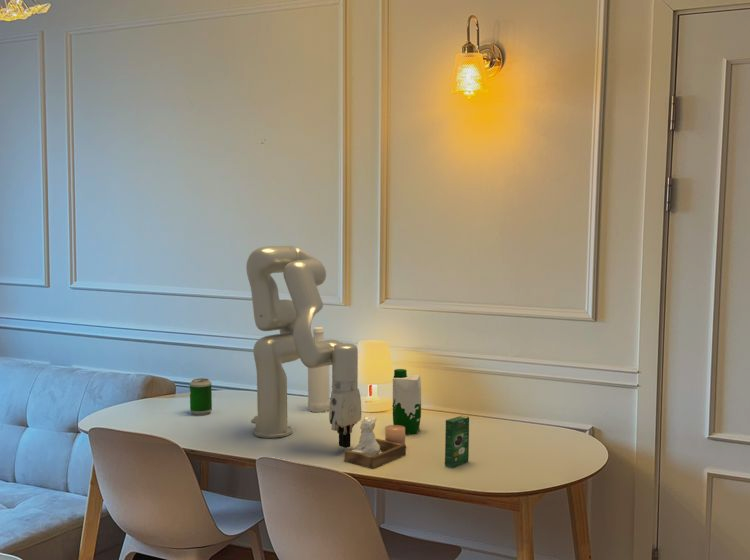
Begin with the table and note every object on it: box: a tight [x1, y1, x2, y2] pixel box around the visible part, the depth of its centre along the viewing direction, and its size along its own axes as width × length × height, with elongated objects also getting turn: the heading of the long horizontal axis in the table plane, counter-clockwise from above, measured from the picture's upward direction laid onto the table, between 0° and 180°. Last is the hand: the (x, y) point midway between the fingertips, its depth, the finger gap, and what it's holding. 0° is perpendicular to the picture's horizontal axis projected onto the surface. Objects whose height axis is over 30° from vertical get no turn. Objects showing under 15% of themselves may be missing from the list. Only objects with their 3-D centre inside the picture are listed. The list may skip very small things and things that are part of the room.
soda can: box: [189, 377, 213, 417], centre depth 264 cm, size 8×8×12 cm
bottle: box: [307, 326, 331, 413], centre depth 268 cm, size 8×8×30 cm
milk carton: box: [392, 368, 422, 435], centre depth 241 cm, size 9×9×20 cm
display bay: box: [343, 438, 407, 470], centre depth 214 cm, size 11×15×3 cm
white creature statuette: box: [351, 415, 381, 456], centre depth 216 cm, size 10×9×12 cm
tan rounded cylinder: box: [384, 424, 406, 445], centre depth 225 cm, size 6×6×6 cm
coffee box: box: [444, 415, 470, 469], centre depth 209 cm, size 8×3×13 cm, turn 137°
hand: (344, 446), depth 221 cm, fingers closed
